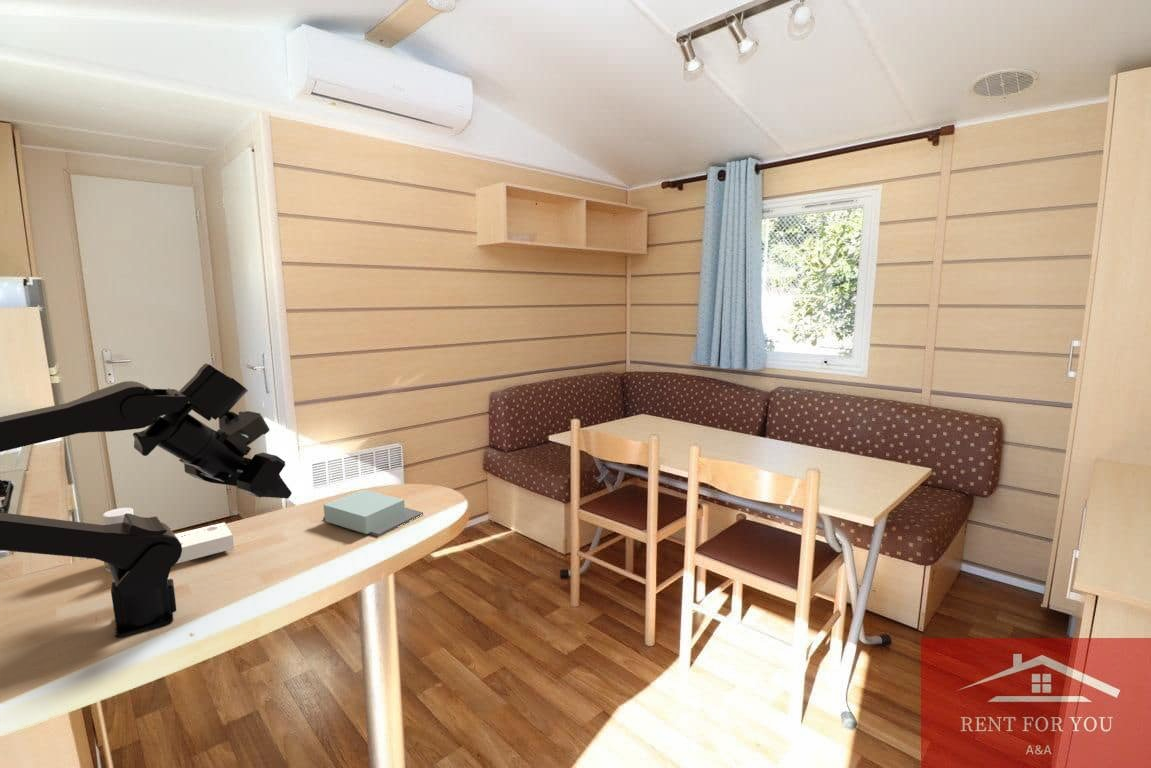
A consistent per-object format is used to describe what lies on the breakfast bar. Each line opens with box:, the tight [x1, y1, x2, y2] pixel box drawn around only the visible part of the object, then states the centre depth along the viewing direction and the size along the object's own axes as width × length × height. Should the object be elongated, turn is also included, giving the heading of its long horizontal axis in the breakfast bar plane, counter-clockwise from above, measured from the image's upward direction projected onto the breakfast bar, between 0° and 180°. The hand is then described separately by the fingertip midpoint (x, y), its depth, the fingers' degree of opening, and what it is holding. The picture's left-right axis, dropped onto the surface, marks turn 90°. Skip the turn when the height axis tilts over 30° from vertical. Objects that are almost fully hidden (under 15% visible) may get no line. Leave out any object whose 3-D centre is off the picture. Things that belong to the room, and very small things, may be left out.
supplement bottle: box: [102, 507, 135, 573], centre depth 95 cm, size 5×5×10 cm
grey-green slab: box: [323, 488, 406, 535], centre depth 114 cm, size 4×12×10 cm
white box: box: [174, 521, 235, 565], centre depth 98 cm, size 13×7×8 cm, turn 132°
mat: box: [322, 507, 424, 538], centre depth 117 cm, size 12×16×1 cm
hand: (272, 490), depth 94 cm, fingers open, 9 cm apart
